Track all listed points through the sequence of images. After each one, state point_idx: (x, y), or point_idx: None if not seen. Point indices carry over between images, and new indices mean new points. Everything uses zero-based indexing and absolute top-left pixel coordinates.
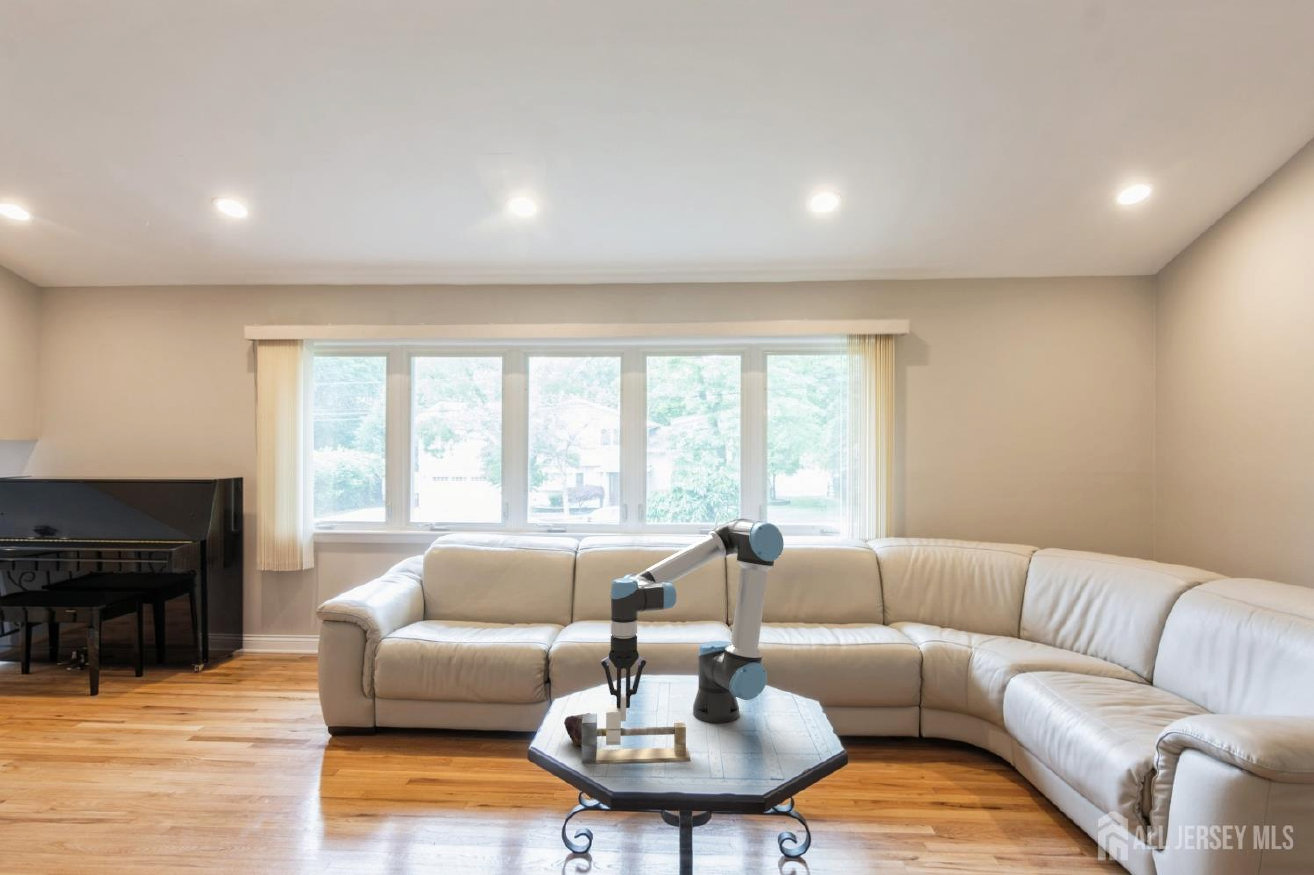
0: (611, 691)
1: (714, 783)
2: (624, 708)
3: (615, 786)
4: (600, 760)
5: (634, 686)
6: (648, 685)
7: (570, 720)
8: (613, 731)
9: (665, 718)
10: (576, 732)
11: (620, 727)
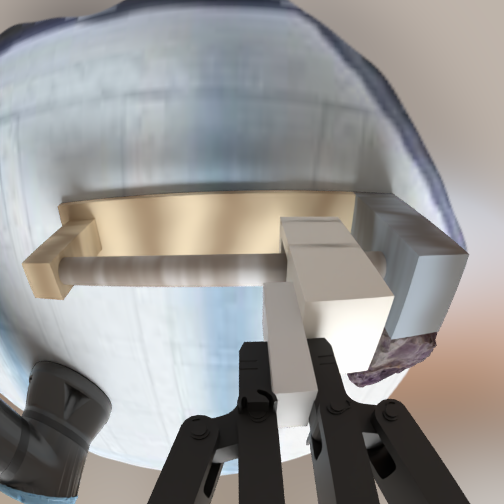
0: (402, 421)
1: (13, 88)
2: (278, 332)
3: (292, 37)
4: (341, 193)
5: (196, 477)
6: None
7: (434, 335)
8: (322, 241)
9: (159, 395)
10: None
11: (291, 251)
